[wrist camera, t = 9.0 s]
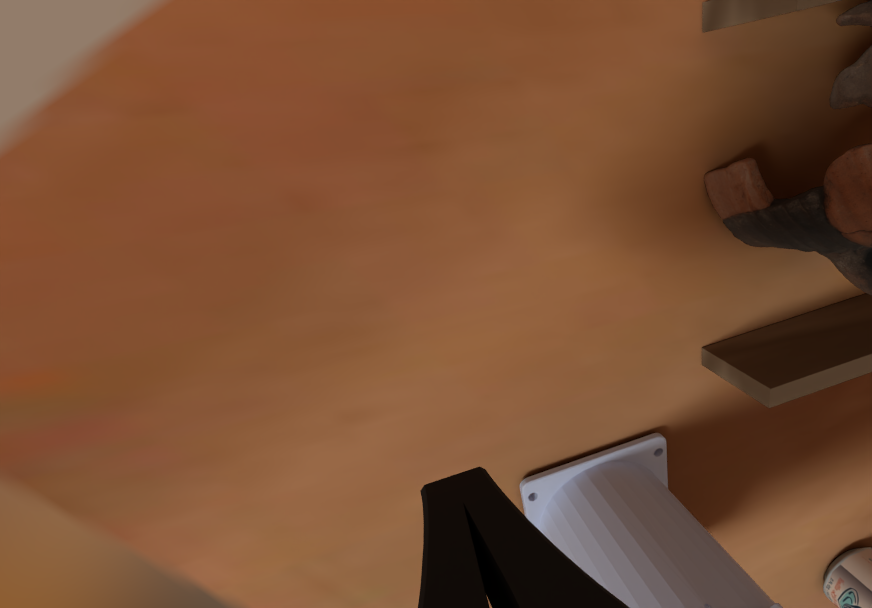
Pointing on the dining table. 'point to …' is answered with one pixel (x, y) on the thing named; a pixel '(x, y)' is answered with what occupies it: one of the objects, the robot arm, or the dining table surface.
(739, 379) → the box
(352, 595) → the dining table surface
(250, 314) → the dining table surface
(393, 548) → the dining table surface
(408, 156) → the dining table surface
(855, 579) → the supplement bottle
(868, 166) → the brown hollow ring part
